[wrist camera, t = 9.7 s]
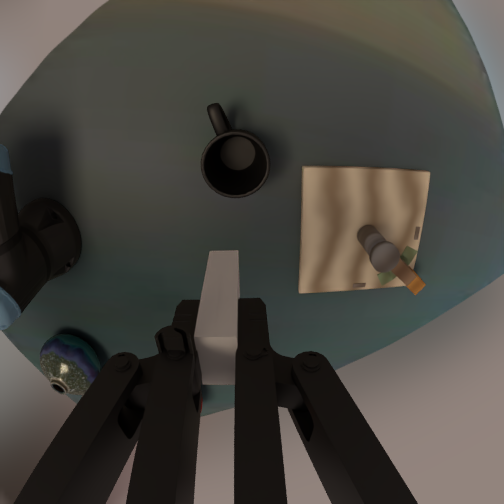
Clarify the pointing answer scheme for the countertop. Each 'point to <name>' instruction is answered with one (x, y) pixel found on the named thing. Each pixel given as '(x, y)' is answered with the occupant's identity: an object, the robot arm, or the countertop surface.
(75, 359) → the vase
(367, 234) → the peg lever
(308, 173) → the dial board
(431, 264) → the countertop surface
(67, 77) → the countertop surface
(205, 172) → the mug
